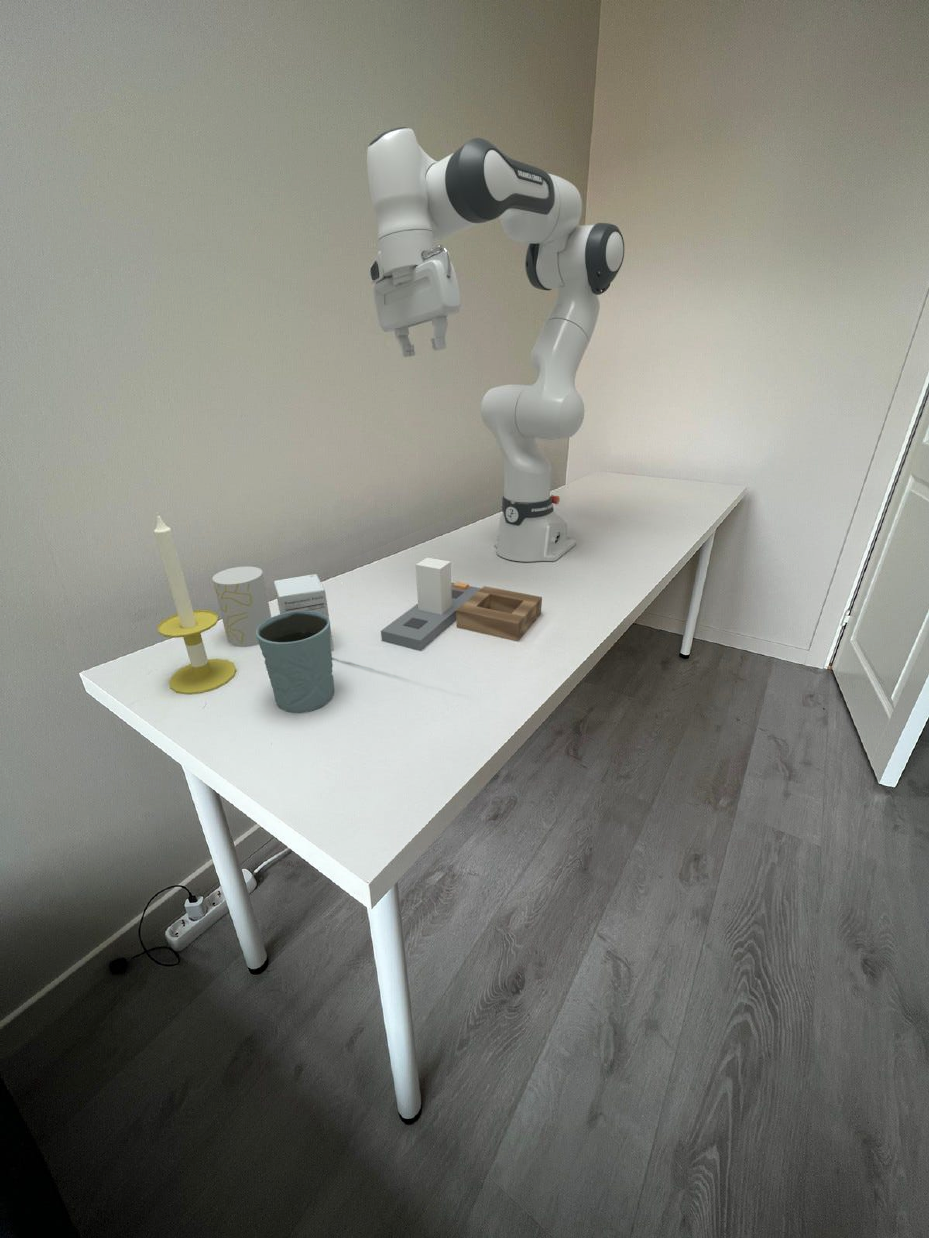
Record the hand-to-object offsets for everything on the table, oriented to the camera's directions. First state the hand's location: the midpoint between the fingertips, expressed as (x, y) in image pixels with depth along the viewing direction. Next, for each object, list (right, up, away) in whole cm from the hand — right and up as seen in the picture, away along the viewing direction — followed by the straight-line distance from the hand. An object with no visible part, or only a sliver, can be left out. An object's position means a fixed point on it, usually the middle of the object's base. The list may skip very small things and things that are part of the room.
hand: (423, 353), depth 92 cm
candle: (-35, -55, -6) cm, 66 cm away
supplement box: (-20, -52, +1) cm, 55 cm away
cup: (-32, -49, +6) cm, 59 cm away
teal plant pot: (-17, -58, -11) cm, 61 cm away
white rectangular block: (+2, -46, +9) cm, 47 cm away
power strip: (+2, -47, +10) cm, 48 cm away
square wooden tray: (+14, -47, +8) cm, 50 cm away
